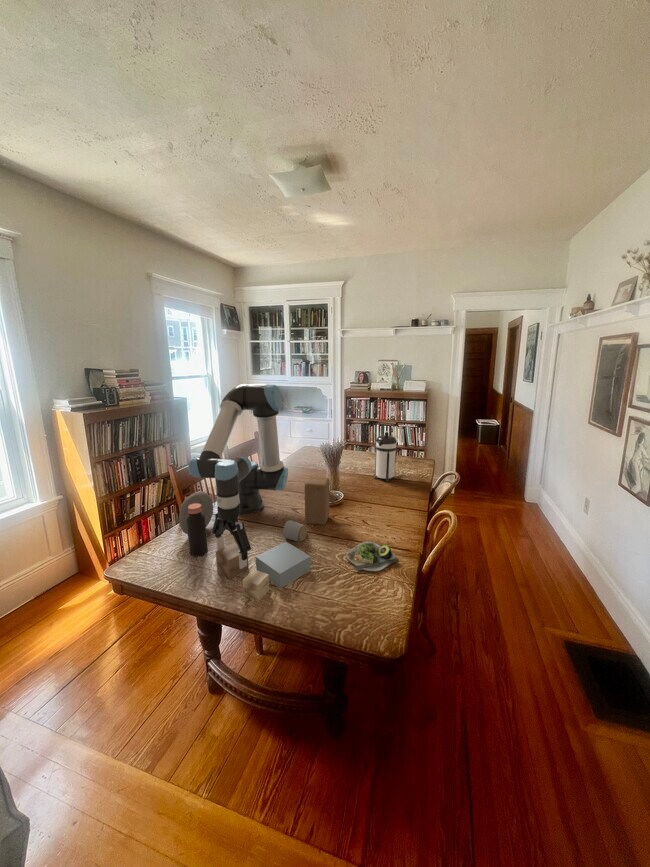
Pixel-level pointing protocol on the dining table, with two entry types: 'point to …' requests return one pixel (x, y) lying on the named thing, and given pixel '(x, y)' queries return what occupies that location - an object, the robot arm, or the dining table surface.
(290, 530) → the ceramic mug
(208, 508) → the grey round disc
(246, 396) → the robot arm
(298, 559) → the slate block
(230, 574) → the walnut cube
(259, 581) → the maple cube
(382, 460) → the coffee press
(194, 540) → the bottle
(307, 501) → the wooden block
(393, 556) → the salad plate
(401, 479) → the dining table surface
